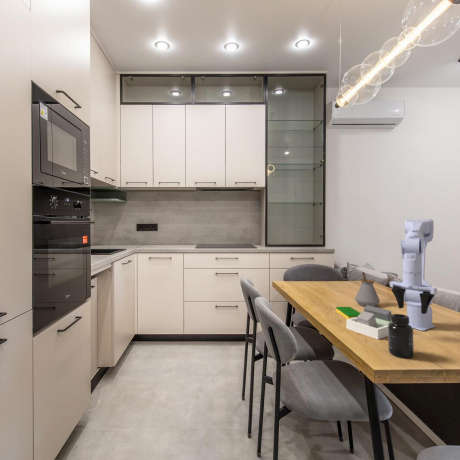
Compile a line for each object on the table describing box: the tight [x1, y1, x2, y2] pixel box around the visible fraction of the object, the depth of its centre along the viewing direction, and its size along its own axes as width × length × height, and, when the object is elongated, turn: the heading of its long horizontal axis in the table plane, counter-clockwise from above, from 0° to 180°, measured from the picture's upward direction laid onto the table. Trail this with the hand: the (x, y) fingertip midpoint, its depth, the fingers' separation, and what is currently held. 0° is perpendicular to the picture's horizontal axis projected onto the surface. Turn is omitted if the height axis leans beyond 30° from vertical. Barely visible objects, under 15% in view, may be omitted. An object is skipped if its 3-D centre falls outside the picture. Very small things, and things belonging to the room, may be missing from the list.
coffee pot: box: [354, 271, 381, 308], centre depth 150 cm, size 21×12×15 cm, turn 162°
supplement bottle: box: [387, 313, 415, 359], centre depth 89 cm, size 7×7×12 cm
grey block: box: [357, 310, 377, 328], centre depth 108 cm, size 4×4×5 cm
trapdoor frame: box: [345, 317, 392, 340], centre depth 110 cm, size 14×13×4 cm
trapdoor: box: [363, 305, 393, 328], centre depth 110 cm, size 11×10×4 cm
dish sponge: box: [335, 306, 362, 320], centre depth 129 cm, size 7×14×2 cm, turn 2°
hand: (412, 310), depth 100 cm, fingers open, 7 cm apart
